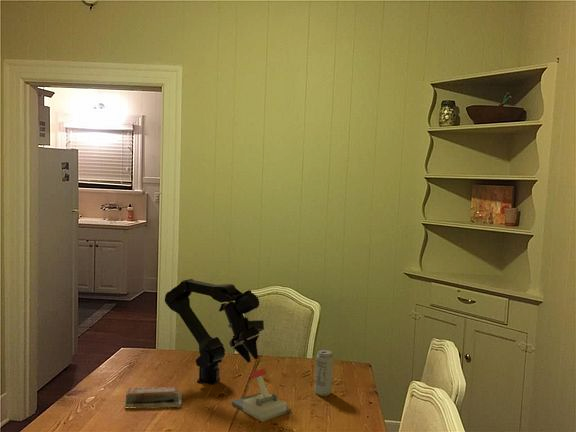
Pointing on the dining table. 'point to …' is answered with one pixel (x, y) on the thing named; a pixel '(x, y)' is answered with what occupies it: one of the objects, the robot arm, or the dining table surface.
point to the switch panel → (262, 407)
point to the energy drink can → (324, 372)
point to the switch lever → (261, 384)
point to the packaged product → (153, 397)
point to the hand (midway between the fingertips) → (252, 360)
